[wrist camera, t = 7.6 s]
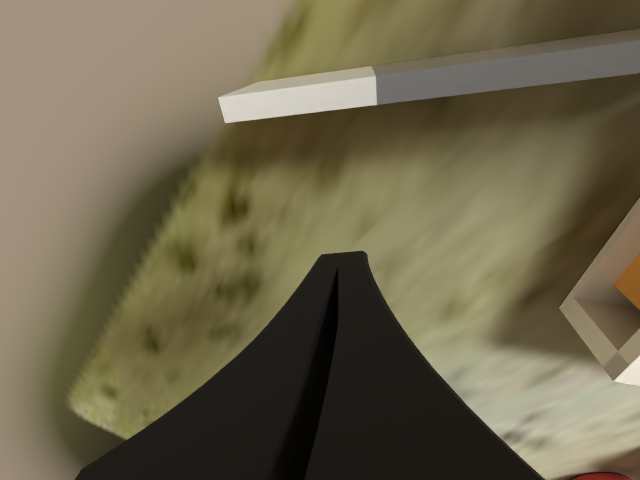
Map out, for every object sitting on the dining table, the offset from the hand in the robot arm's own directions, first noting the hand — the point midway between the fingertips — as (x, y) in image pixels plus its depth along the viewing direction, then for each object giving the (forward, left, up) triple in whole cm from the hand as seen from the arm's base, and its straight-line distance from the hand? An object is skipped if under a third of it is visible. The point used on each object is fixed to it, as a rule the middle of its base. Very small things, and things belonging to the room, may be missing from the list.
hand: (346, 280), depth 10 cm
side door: (-7, +1, -8) cm, 11 cm away
